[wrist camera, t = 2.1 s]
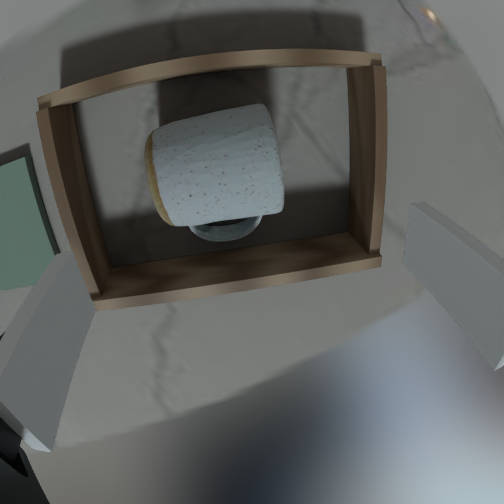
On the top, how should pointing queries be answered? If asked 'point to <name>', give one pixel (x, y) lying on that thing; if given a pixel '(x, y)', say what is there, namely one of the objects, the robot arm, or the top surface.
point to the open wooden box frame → (235, 260)
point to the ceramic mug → (216, 171)
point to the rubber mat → (23, 227)
